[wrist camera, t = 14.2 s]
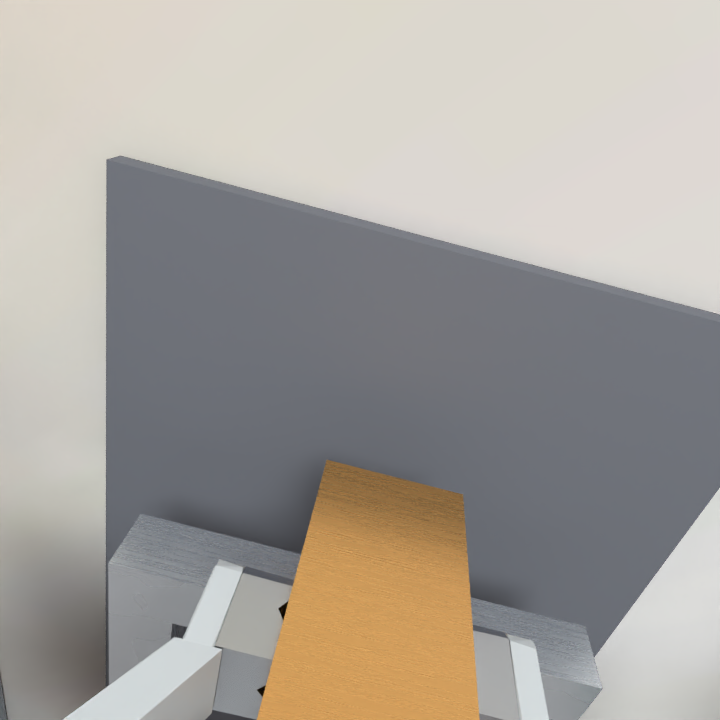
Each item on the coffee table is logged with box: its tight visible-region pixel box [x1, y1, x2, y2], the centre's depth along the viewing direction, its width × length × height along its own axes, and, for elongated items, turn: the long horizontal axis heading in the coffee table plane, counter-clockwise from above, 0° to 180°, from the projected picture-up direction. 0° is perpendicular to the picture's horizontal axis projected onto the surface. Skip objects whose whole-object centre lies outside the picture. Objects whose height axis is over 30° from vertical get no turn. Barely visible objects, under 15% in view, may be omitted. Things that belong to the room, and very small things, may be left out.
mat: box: [106, 156, 720, 720], centre depth 19 cm, size 28×16×1 cm, turn 167°
